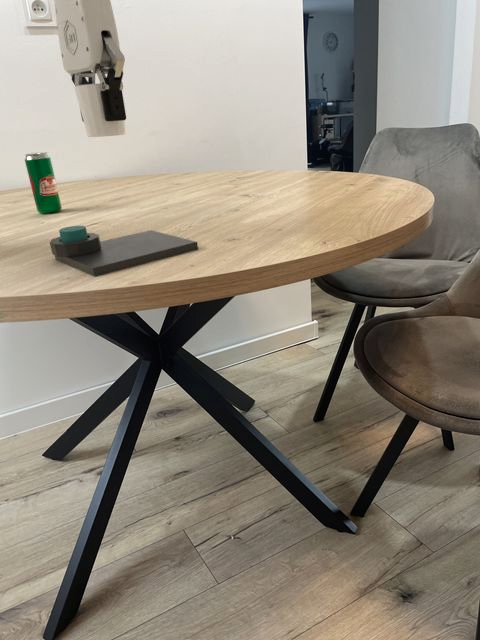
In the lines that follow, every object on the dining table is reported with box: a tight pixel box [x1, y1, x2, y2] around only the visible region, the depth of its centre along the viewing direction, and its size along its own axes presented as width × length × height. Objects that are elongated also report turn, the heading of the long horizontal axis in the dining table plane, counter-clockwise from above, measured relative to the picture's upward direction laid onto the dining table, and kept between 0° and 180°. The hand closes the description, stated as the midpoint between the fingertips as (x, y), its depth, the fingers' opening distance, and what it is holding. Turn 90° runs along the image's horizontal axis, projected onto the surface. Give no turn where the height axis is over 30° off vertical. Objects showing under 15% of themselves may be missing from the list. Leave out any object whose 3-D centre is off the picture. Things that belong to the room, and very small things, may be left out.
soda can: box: [24, 151, 63, 215], centre depth 108 cm, size 5×5×12 cm
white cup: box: [73, 82, 126, 138], centre depth 77 cm, size 7×7×7 cm
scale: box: [49, 229, 199, 278], centre depth 73 cm, size 17×14×3 cm
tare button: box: [58, 225, 88, 242], centre depth 72 cm, size 4×4×2 cm
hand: (103, 120), depth 78 cm, fingers closed on white cup, 6 cm apart
